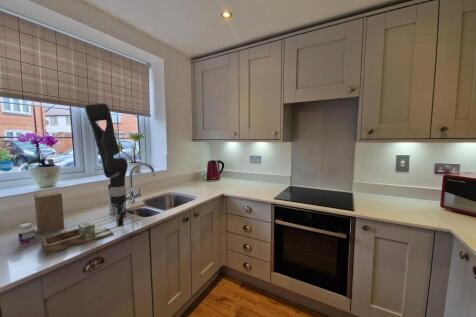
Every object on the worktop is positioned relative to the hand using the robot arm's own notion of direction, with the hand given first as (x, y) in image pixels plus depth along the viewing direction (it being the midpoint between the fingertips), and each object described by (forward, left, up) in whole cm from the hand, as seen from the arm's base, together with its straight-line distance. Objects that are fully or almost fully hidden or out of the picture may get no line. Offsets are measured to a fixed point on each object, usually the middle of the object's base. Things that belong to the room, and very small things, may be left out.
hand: (119, 223), depth 114 cm
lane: (+18, 0, -3) cm, 18 cm away
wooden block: (+25, -29, -3) cm, 39 cm away
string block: (+8, 0, -1) cm, 8 cm away
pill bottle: (+35, -15, -3) cm, 38 cm away
